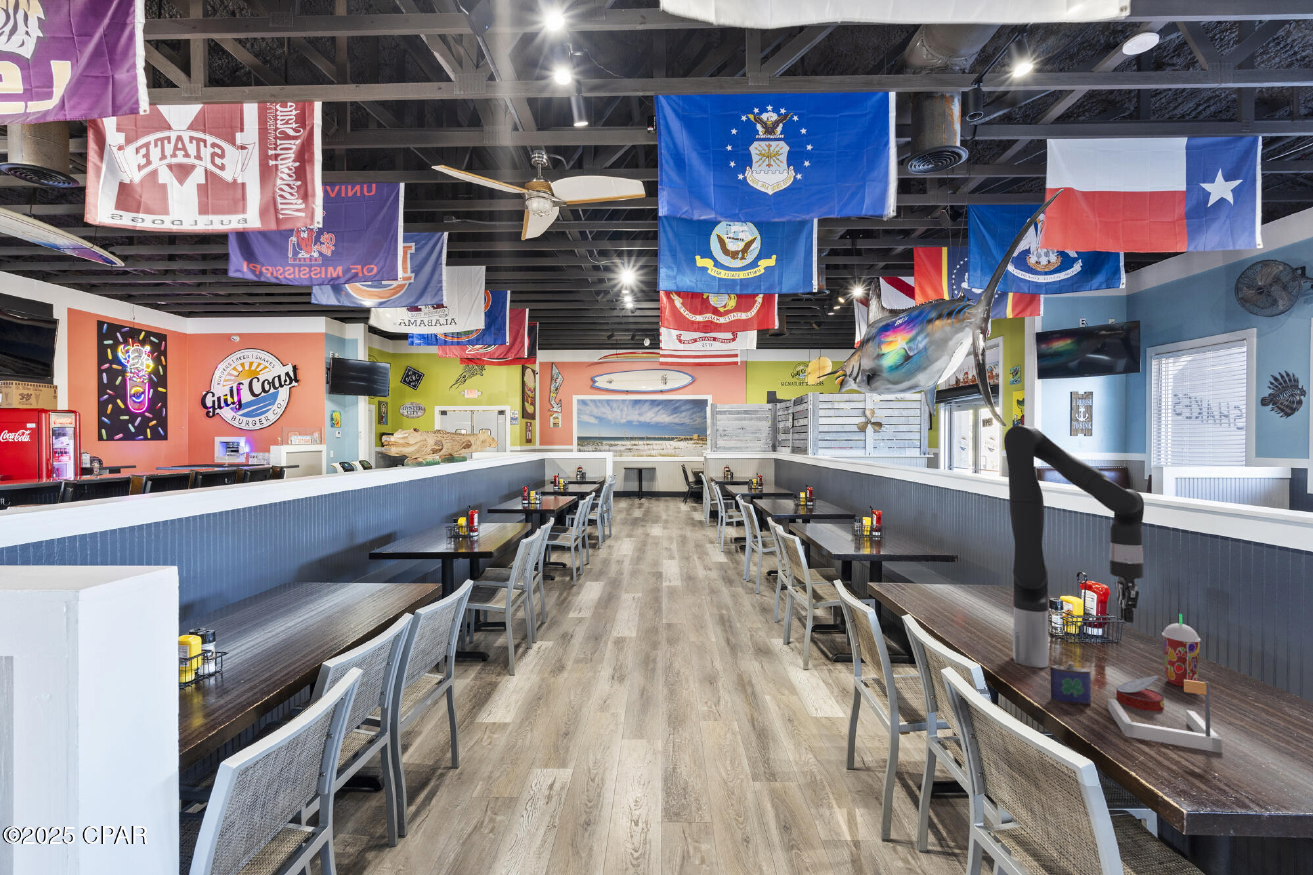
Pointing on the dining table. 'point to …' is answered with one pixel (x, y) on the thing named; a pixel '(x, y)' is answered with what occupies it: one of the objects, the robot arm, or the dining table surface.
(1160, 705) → the canned food
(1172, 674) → the smoothie
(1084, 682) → the flask
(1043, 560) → the robot arm
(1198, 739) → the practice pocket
